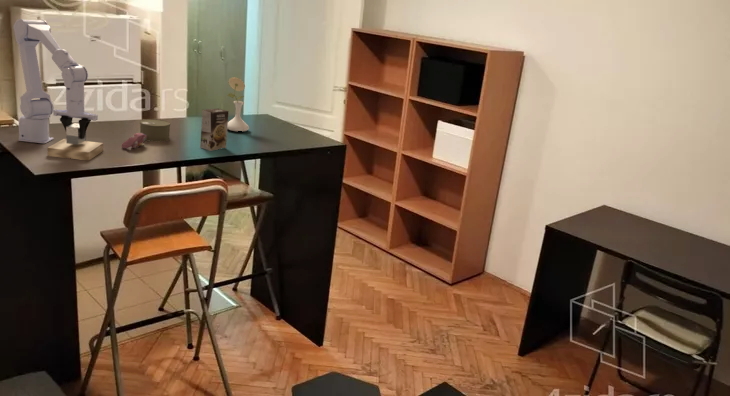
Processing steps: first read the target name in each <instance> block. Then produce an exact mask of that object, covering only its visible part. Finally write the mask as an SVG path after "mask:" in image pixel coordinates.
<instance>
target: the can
mask: <svg viewBox="0 0 730 396" xmlns="http://www.w3.org/2000/svg"><path fill="white" fill-rule="evenodd" d="M139 124H140V125H139V126H140V127H139V133H142V134H145V135H146V136H147V138H146V140H145V141H148V142H152V143H153V142H156V143H159V142H167V141H170V133H171V131H170V130H171V128H170V127H171V123H170V122H169V121H167V120H163V119H154V118H147V119H146V118H145V119H141V120H139Z"/></svg>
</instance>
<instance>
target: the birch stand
mask: <svg viewBox="0 0 730 396" xmlns="http://www.w3.org/2000/svg"><path fill="white" fill-rule="evenodd" d="M46 150H47V157H51V158H52V157H53V158H61V159H62V158H63V159H70V158H71V160H80V161H89V162H90V161H91V160H92V159H94V158H95V157H97V156H98V155H100V154H101V153H102V152H104V143H103V142H97V141H88V140H86V141H84V142H82V143H80V144H78V145H77V144H68V143H67V141H66V138H63V139H61V140H59V141H57V142H55V143H53V144H51V145H49V146H48V147H47V149H46Z"/></svg>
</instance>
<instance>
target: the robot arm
mask: <svg viewBox="0 0 730 396" xmlns="http://www.w3.org/2000/svg"><path fill="white" fill-rule="evenodd" d="M12 27H13V31H14V37H15V41H16V43H17V45H18V51H19V56H20V61H21V66H22V73H23V78H24V85H25V89H26V91H25V92H24V93H23V94H22V95H21V96H19V97H20V99H19V100H20V104H19V105H20V106H19V109H20V112H21V114H22V115H21V116H20V117H19V120H18V141H20V142H27V143H36V144H37V143H38V144H47V143H49V142H51V141H53V140H54V137H50V123H49V122H50V121H49V119H50V118H51V115H52V116H54V117H59V121H60V122H61V124H62V126H63V127H64V130H65V132H66V127H67V126H69V125H71V124H73V118H74V119H78V123H79V126H80V139H83V138H85V133H86V134H87V129H88V127H89V126H90V123H91V122H92V121H98V116H99V115H98V114H96V113H91V112H86V111H85V83H86V82H87V80H88V77H89V73H88V70H87V68H86V66H85V65H82V64H80V63H77V62H76V60H75V59H74V58H73V57H72V56H71V54H70V53H69V51H68V50H66V49H64V48H63V49H62V48H61V46H60V45H59V43H58V42H57V41H56V39H55V37H54V36H53V34H52V28H51V26H50V25H49V23H48V22H47V21H46V20H45V19H27V18H26V19H25V18H17V19H16V21H15V22H14V24H13V26H12ZM40 43H42V45H43V46H44V47H45V48H46V49H47V50H48V51H49V52H50V53H51V59H52V61H53V63H54V64H55V65H56V66H57V67H58V68H59V70H60V71H61V78H62V79H63V83H64V84H63V85H64V87H65V96H66V97H65V98H66V99H65V102H66V103H65V104H66V105H65V106H66V109H55V108H54V103H53V101H52V100H51V96H50V94H48V93H47V92H46V91H44V89H43V83H42V79H41V72H40V67H39V61H38V55H37V48H36V47H37V46H38V45H39V44H40Z"/></svg>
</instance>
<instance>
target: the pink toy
mask: <svg viewBox="0 0 730 396" xmlns="http://www.w3.org/2000/svg"><path fill="white" fill-rule="evenodd" d="M146 138H147V136H146V135H145V134H142V133H140V132H137V133H134V134H133V135H132V136H130V137H129V138H128V139H126V140H125V141H124V142H122V143H121V148H123V149H129V148H132V149H135V148H136V147H140V146H142V144H143V143H144V142H145V141H146Z"/></svg>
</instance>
